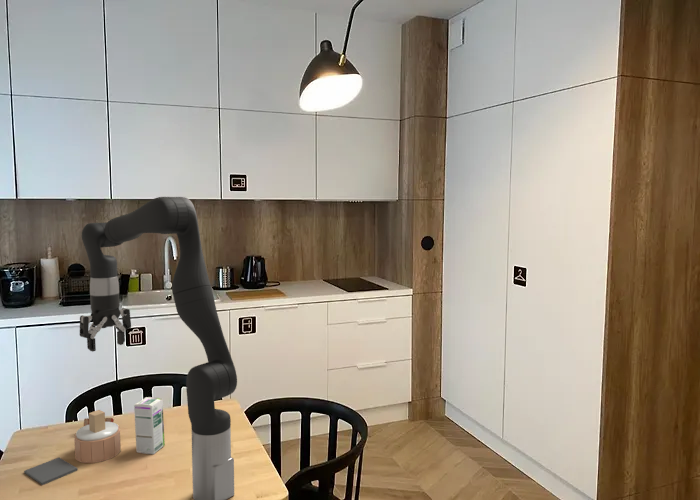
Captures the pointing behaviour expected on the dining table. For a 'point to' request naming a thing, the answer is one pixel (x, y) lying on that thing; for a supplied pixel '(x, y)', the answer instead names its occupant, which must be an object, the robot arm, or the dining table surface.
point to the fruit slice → (86, 421)
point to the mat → (50, 471)
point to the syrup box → (149, 425)
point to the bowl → (97, 449)
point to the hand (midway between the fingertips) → (106, 347)
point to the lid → (97, 428)
